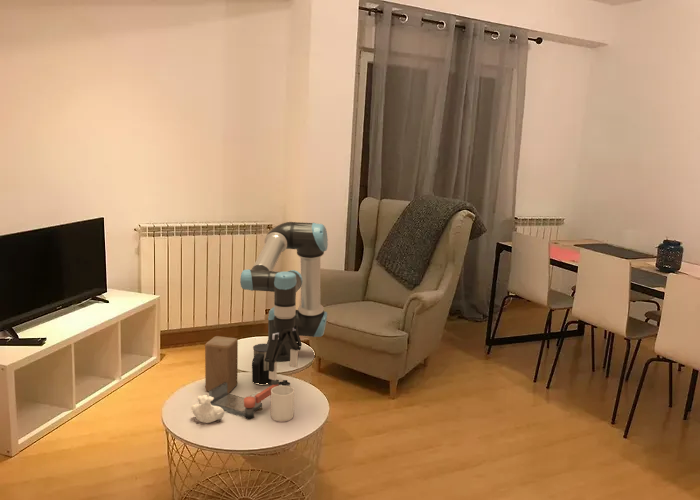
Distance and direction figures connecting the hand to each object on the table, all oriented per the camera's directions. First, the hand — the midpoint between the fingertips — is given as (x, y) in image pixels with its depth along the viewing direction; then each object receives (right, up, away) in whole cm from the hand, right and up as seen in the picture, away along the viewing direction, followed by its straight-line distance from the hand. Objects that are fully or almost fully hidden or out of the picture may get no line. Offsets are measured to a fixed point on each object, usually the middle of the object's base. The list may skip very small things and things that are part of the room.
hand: (283, 372), depth 210 cm
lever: (-9, -12, +6) cm, 16 cm away
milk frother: (-8, -11, +29) cm, 32 cm away
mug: (-1, -16, +3) cm, 16 cm away
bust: (-27, -16, -4) cm, 31 cm away
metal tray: (-18, -14, +7) cm, 24 cm away
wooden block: (-27, -11, +23) cm, 37 cm away
